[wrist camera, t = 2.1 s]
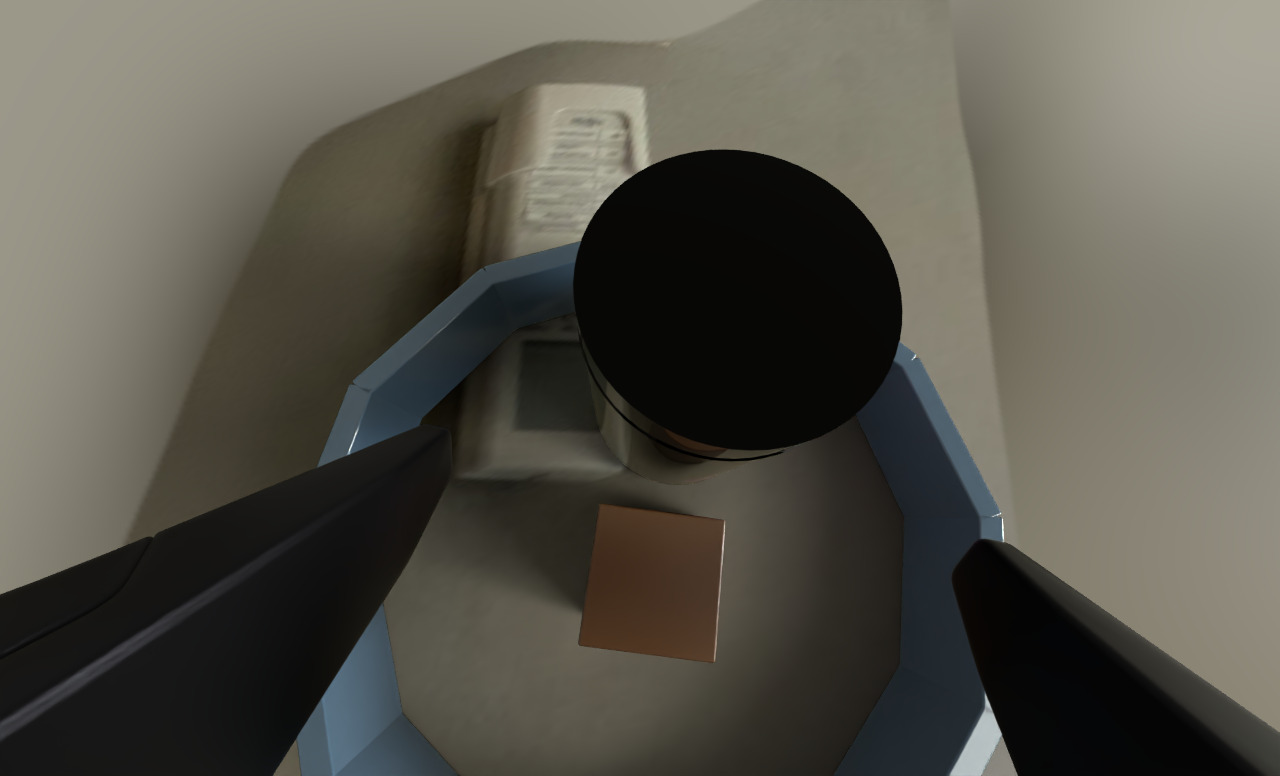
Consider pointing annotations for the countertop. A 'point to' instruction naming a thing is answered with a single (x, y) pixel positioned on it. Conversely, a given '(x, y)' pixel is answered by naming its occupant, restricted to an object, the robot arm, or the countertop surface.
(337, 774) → the blue polygonal ring
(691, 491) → the countertop surface
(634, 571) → the walnut block
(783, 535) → the countertop surface
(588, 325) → the supplement container
